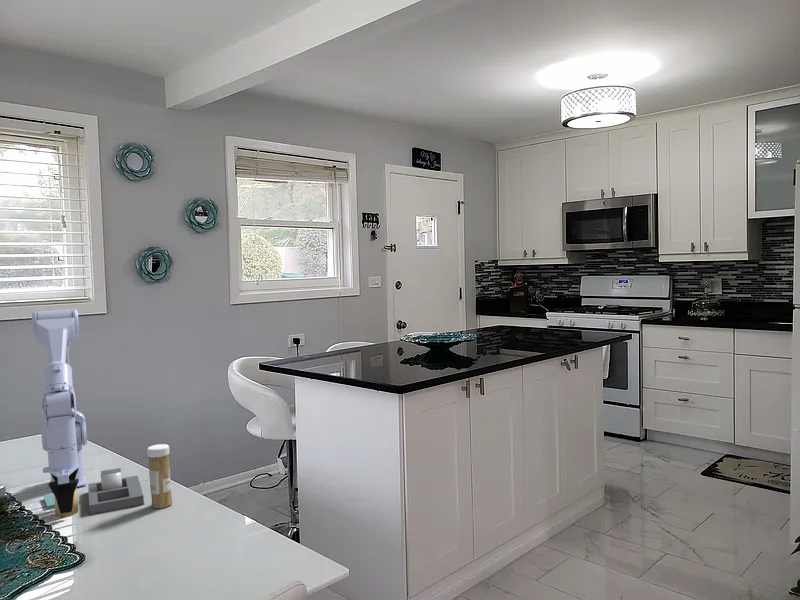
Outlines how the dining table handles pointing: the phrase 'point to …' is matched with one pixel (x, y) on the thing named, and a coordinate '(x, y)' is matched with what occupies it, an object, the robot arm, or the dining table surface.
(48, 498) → the lid plate
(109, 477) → the grey knob with ridge
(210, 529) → the dining table surface
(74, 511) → the beige cylinder with tab
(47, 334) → the robot arm
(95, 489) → the housing
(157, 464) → the spice jar
